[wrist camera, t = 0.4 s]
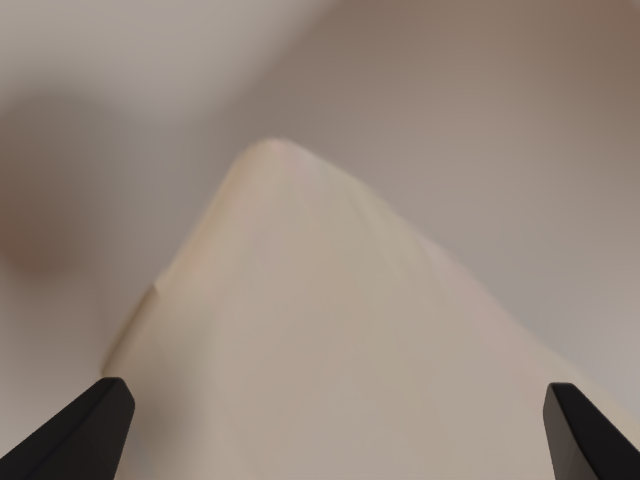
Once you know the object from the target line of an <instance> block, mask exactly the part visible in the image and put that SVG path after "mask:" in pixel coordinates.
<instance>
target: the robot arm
mask: <svg viewBox="0 0 640 480" xmlns="http://www.w3.org/2000/svg"><path fill="white" fill-rule="evenodd" d="M134 410H135V401H134V398H133V396H132V394H131V393H130V391H129V389H128V387H127V385H126V383H125V382H124V380H123V379H122V378H120V377H104V378H102V379H100V380H99V381H97V382H96V383H95V384H94V385H92V386H91V387H90V388H89V389H87V390H86V391H85V392H84V393H82V394H81V395H80V396H79V397H77V398H76V399H75V400H74V401H72V402H71V403H70V404H69V405H67V406H66V407H65V408H64V409H62V410H61V411H60V412H59V413H57V414H56V415H55V416H54V417H52V418H51V419H50V420H49V421H47V422H46V423H45V424H44V425H42V426H41V427H40V428H39V429H37V430H36V431H35V432H33V433H32V434H31V435H30V436H29V437H27V438H26V439H25V440H23V441H22V442H21V443H20V444H19V445H17V446H16V447H15V448H13V449H12V450H11V451H10V452H9V453H7V454H6V455H5V456H3V457H2V458H1V459H0V480H113V479H114V477H115V474H116V471H117V468H118V464H119V461H120V458H121V454H122V451H123V448H124V444H125V441H126V438H127V434H128V431H129V427H130V424H131V421H132V417H133V414H134ZM543 420H544V425H545V430H546V435H547V440H548V445H549V450H550V455H551V459H552V464H553V469H554V474H555V479H556V480H640V452H639V451H638V450H637V449H636V448H635V447H634V446H633V445H632V443H631V442H630V441H629V440H628V439H627V438H626V437H625V436H624V435H623V434H622V433H621V432H620V431H619V430H618V429H617V428H616V427H615V426H614V425H613V424H612V423H611V422H610V421H609V420H608V419H607V418H606V417H605V416H604V415H603V414H602V413H601V412H600V411H599V410H598V408H597V407H596V406H595V405H594V404H593V403H592V402H591V401H590V400H589V399H588V398H587V397H586V396H585V395H584V394H583V393H582V392H581V391H580V390H579V389H578V388H577V387H576V386H575V385H574V384H572V383H559V382H553V383H550V384H549V385H548V387H547V392H546V397H545V402H544V406H543Z"/></svg>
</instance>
